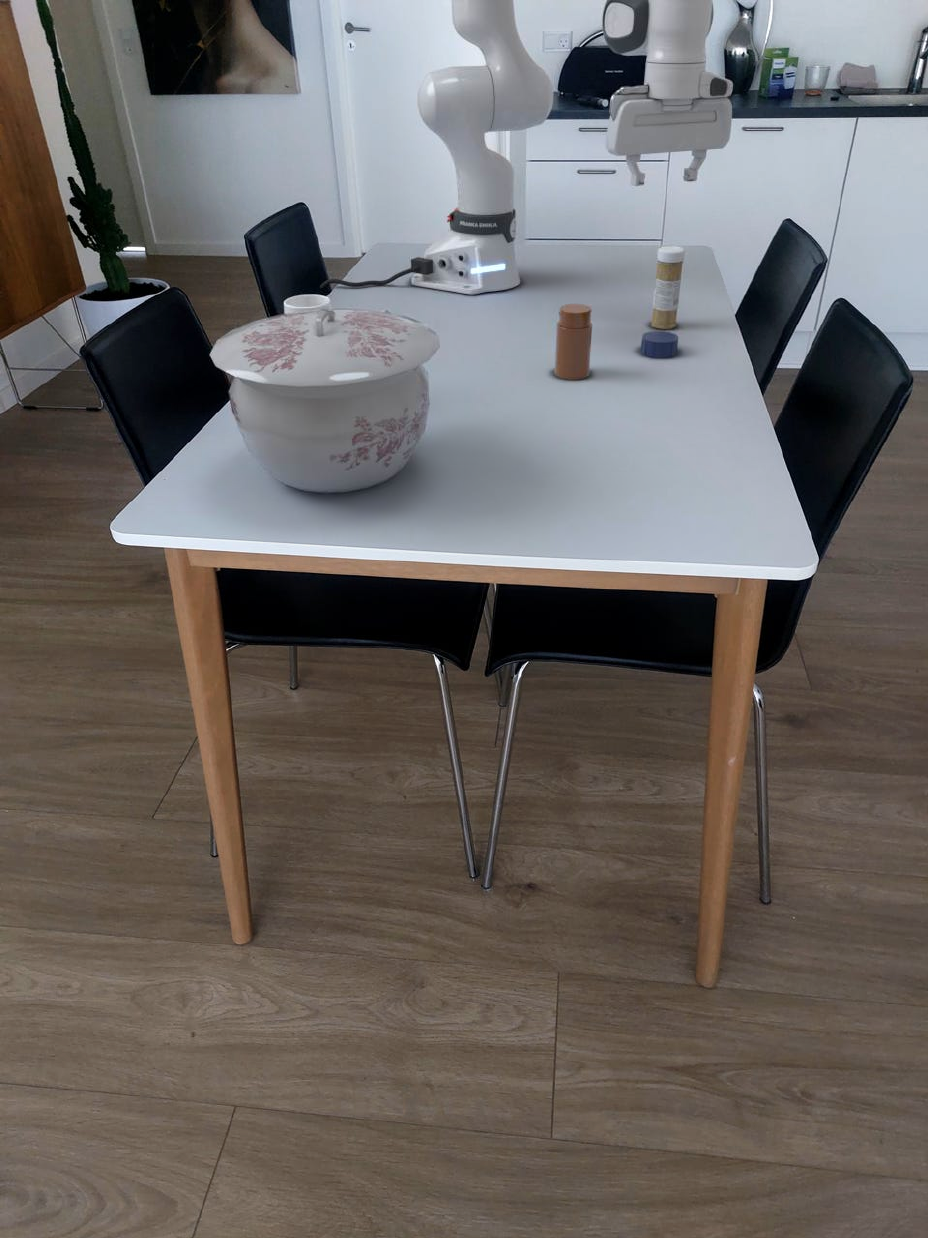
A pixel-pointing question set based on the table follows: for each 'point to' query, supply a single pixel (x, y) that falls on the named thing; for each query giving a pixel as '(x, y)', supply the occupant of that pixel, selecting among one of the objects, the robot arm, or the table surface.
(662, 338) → the lid
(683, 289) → the table surface
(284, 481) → the chamber pot
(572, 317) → the brown cylinder
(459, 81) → the robot arm
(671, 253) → the sprinkles bottle
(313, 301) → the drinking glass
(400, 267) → the table surface
